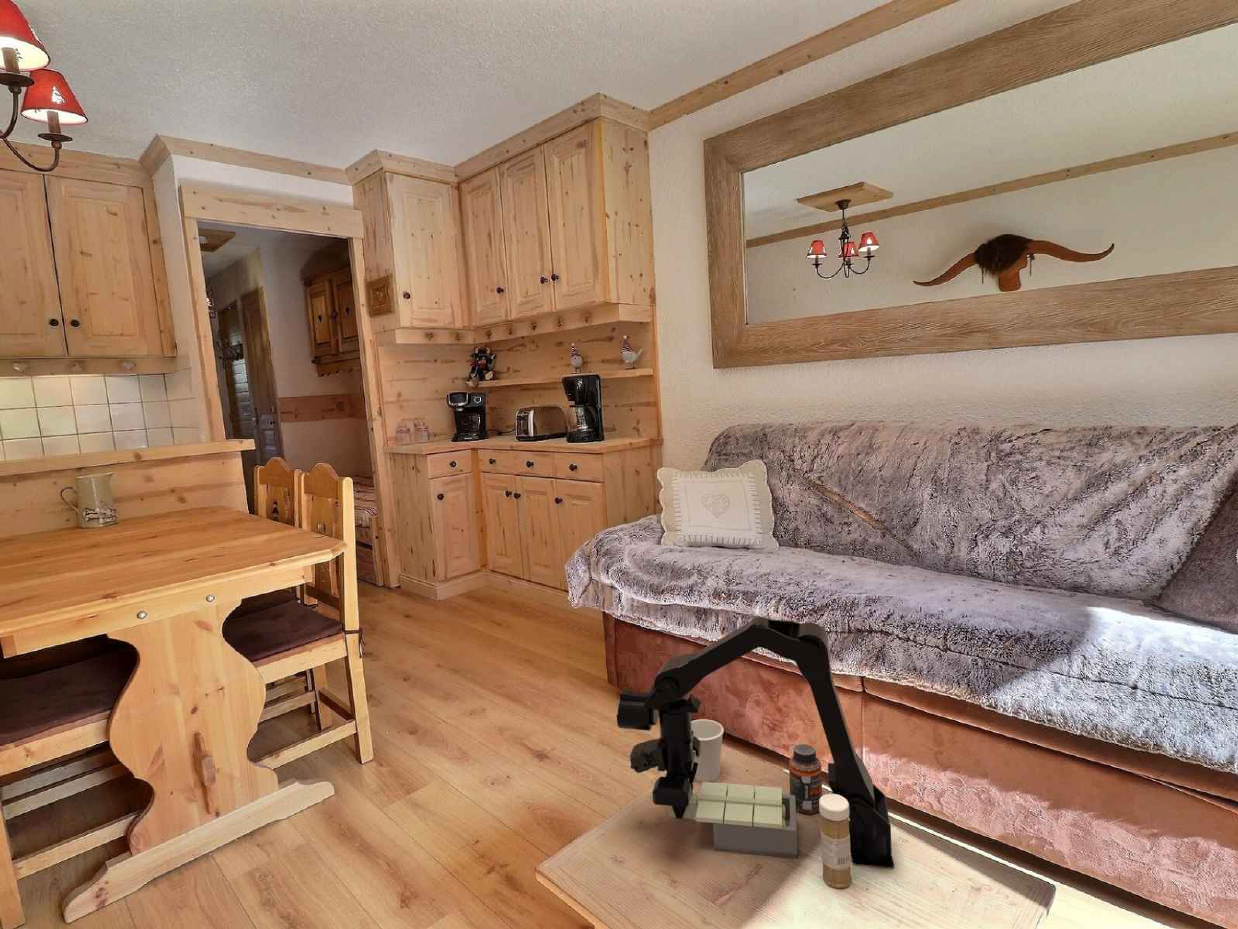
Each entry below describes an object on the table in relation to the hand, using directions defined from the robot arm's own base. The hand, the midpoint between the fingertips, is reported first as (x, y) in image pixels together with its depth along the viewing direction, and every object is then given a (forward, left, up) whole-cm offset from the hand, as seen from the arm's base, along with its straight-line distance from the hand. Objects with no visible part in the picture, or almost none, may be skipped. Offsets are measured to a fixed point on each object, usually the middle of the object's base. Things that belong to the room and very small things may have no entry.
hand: (680, 812), depth 121 cm
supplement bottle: (-23, -10, -3) cm, 25 cm away
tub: (-14, 0, -3) cm, 14 cm away
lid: (-8, 0, 0) cm, 8 cm away
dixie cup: (-3, -18, -3) cm, 18 cm away
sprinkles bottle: (-27, +9, -3) cm, 28 cm away
